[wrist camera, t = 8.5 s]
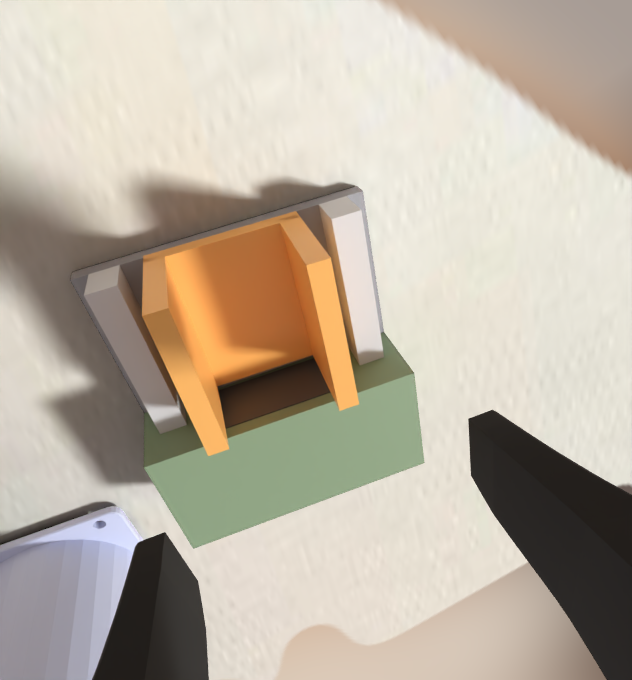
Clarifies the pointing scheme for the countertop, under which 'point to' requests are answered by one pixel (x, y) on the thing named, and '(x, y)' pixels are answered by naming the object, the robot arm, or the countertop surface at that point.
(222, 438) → the chute
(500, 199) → the countertop surface
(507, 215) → the countertop surface
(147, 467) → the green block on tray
